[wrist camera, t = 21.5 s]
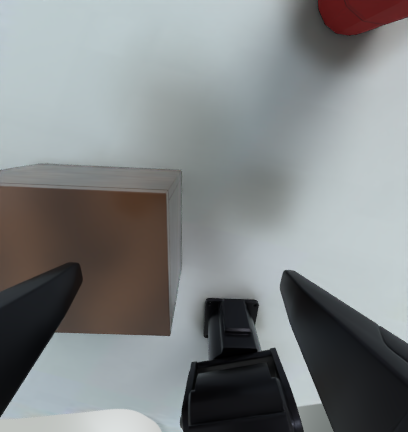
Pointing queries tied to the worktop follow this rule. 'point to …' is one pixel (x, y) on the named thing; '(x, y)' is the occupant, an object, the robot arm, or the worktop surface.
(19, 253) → the cabinet
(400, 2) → the plastic cup
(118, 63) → the worktop surface
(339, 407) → the robot arm
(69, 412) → the worktop surface
